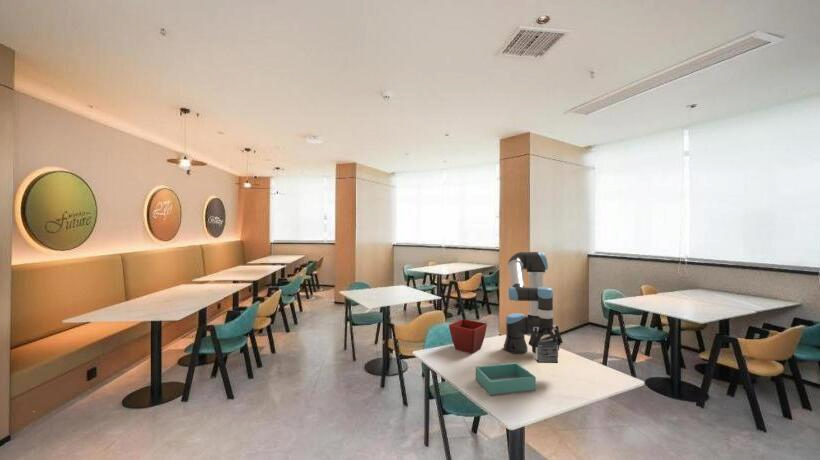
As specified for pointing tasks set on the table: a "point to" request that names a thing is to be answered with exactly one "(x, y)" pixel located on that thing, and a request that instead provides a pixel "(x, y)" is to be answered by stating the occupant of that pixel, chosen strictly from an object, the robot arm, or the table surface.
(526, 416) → the table surface
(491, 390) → the bin
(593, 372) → the table surface
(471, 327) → the plant pot
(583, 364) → the table surface
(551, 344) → the small box
